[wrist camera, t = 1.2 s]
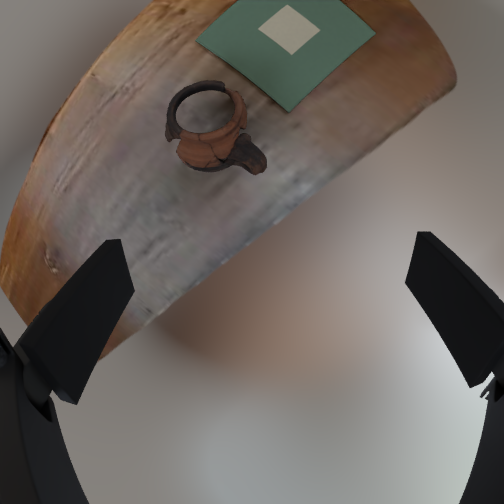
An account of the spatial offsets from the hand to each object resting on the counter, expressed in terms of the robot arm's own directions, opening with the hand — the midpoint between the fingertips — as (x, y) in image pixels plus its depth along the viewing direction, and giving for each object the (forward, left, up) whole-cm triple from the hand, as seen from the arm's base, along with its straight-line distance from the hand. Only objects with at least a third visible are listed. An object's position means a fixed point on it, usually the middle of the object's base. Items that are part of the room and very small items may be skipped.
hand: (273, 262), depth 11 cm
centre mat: (-15, -9, -22) cm, 28 cm away
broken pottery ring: (0, -6, -22) cm, 23 cm away
